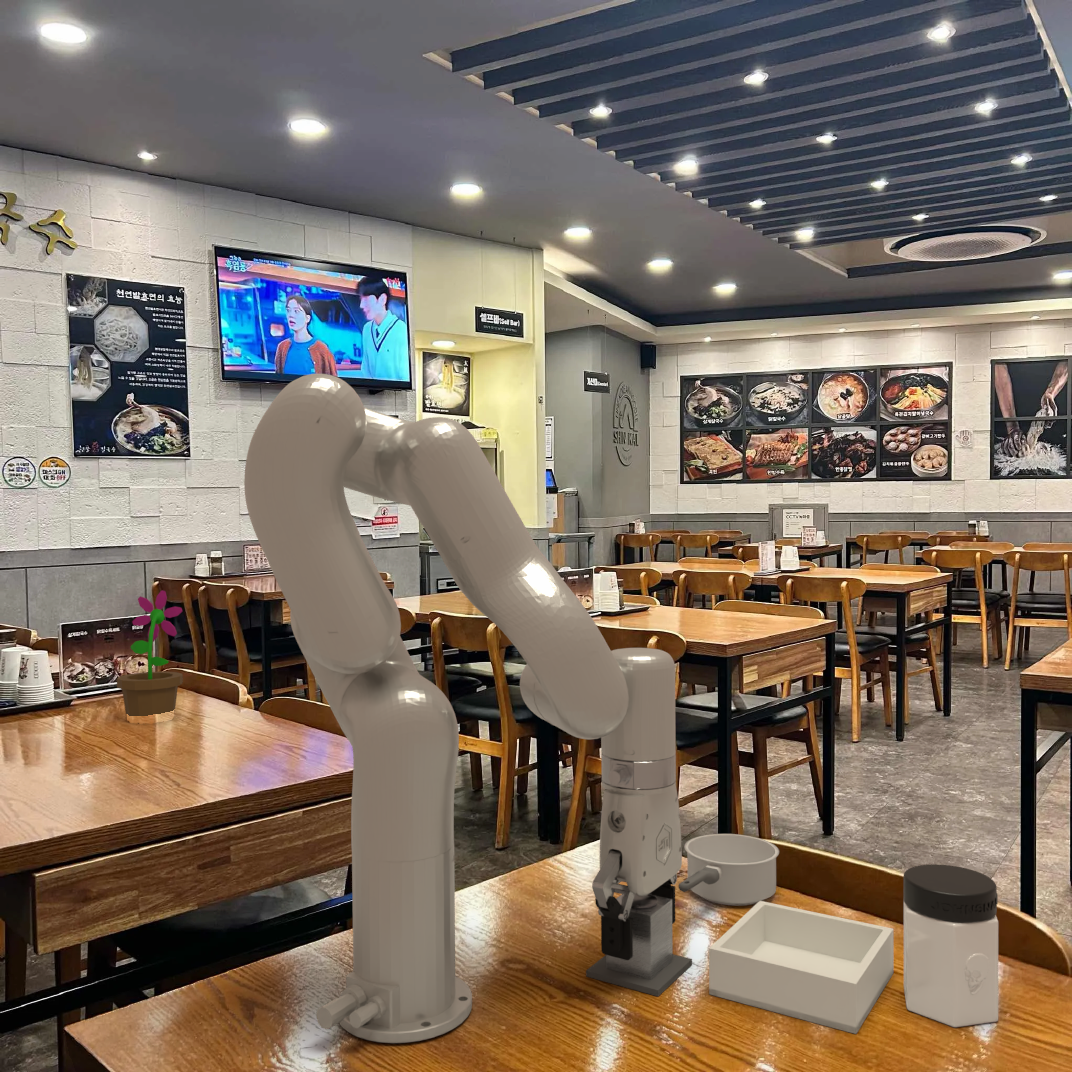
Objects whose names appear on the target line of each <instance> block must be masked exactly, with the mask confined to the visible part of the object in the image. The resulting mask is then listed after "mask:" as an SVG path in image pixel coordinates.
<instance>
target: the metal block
mask: <svg viewBox="0 0 1072 1072" xmlns="http://www.w3.org/2000/svg"><path fill="white" fill-rule="evenodd" d="M623 896H624V894H620V895H619V896H617V897H615V898H616V899H617V900H618V902H619V903H620V905H621V903H622V900H623ZM628 917H629V918H632V923H633V956H632V958H631V959H629V960H624V959H620V958H616V957H613V956H609V955H606V968H607V969H611V970H615V971H618V972H622V973H626V974H629V975H633V976H637V977H640V978H644V979H648V980H652V979H653V978H654V977H655V976H656V975H658V974H659V973H660V972H661V971H662V970H663V969H664V968H665V967H667V966H668V965H669V964H670V963H671V962H672V961H673V954H674V953H673V924H672V899H669V898H664V897H660V896H655V895H651V894H648V895H646V896H643V897H642V896H638V895H637V893H635V896H634V899H633V902H632V906H631V909H630V912H629V916H628Z"/></svg>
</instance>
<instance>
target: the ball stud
mask: <svg viewBox="0 0 1072 1072" xmlns="http://www.w3.org/2000/svg"><path fill="white" fill-rule="evenodd" d="M691 966H693V959H692V958H690V957H687V956H682V955H677V954H674V953H673V961H672V962H671V963H670V964H669V965H668V966H667V967H665V968H664V969H663V970H662V971H661V972H660V973H659V974H658V975H656V976H655V977H654V978H653V979H652V980H648V979H644V978H640V977H637V976H633V975H629V974H626V973H622V972H618V971H615V970H611V969H607V968H606V955H605V954H604V956H603V957H601V958H600V959H598V960H597V961H596V962H595V963H593V964H592V965H591V966H590V967H588V968H587V969H586V970H585V976H586V977H587V978H591V979H594V980H598V981H601V982H605V983H609V984H612V985H616V986H619V987H623V988H626V989H629V990H632V991H637V992H641V993H644V994H647V995H652V996H655V997H659V996H661V994H662V993H664V992H665V991H666V990H667V989H669V987H670V986H671V985H673V983H675V982H676V980H677V979H679V978H680V977H681V976H682V975H683V974H684V973H685V972H686V971H687V970H688V969H689V968H691Z"/></svg>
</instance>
